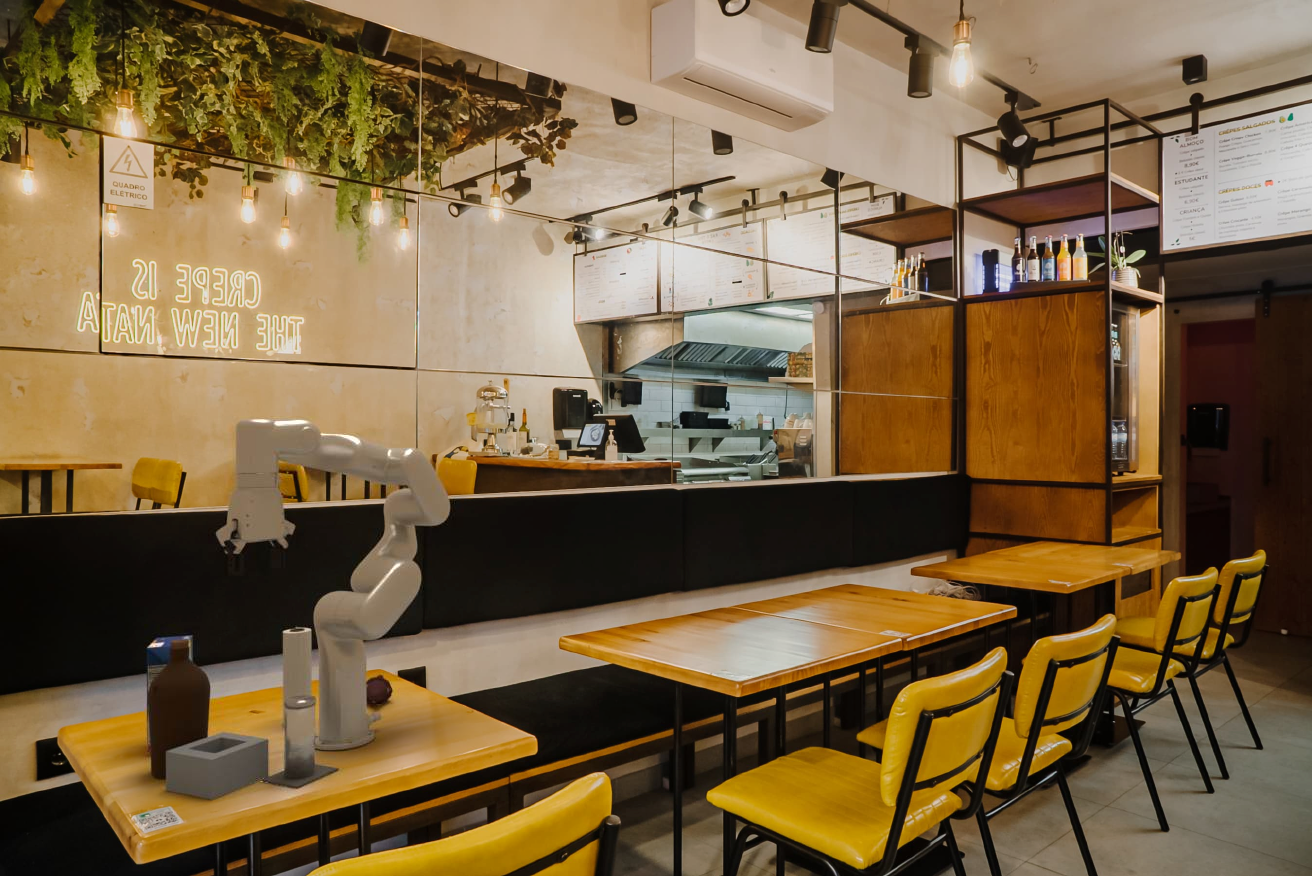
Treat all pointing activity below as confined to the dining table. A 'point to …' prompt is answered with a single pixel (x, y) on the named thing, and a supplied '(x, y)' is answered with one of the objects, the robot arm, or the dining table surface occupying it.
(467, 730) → the dining table surface
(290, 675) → the paper towel roll
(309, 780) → the mat
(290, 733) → the silver metallic cylinder
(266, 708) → the dining table surface
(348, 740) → the robot arm
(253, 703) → the dining table surface
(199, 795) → the housing
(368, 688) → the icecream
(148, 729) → the beverage box
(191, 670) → the olive oil
